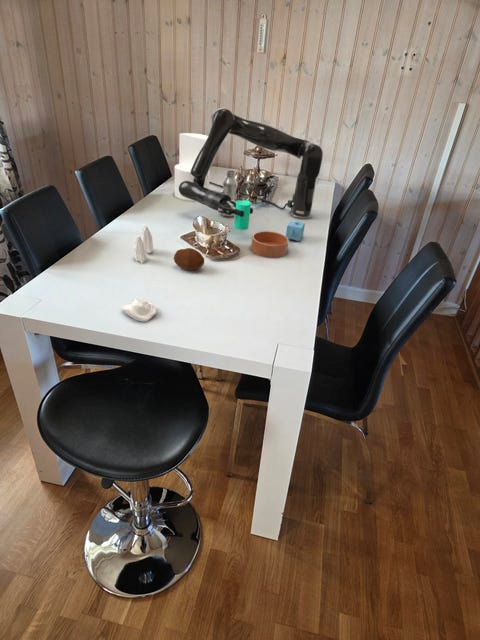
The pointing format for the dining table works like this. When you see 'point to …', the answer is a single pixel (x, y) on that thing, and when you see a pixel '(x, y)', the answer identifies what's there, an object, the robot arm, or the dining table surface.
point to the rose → (140, 310)
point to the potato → (189, 259)
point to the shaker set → (143, 245)
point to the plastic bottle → (230, 187)
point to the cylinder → (188, 160)
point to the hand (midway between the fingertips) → (247, 212)
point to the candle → (243, 222)
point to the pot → (269, 244)
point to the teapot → (295, 230)
